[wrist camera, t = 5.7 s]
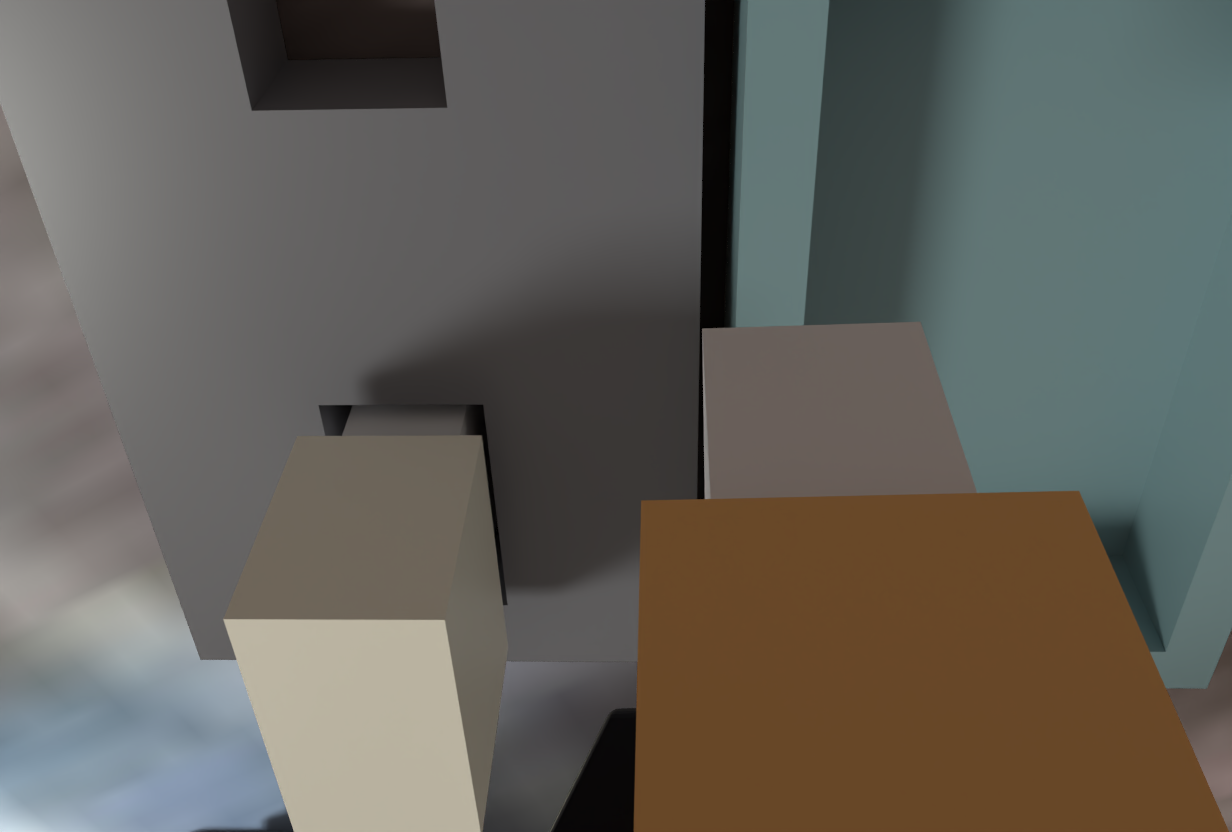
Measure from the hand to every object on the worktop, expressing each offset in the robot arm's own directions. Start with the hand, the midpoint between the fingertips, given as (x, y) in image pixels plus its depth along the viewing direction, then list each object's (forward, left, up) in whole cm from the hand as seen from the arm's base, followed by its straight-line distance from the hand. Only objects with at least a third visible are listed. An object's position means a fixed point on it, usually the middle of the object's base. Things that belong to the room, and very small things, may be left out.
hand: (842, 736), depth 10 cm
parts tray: (-3, -4, -12) cm, 13 cm away
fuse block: (-1, +6, -12) cm, 13 cm away
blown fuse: (0, 0, -3) cm, 3 cm away
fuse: (-6, +6, -12) cm, 14 cm away
